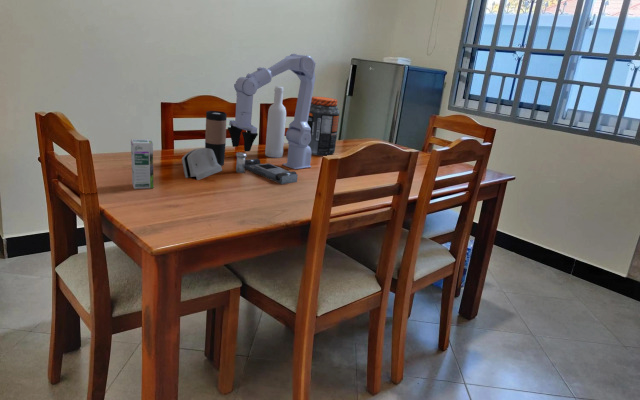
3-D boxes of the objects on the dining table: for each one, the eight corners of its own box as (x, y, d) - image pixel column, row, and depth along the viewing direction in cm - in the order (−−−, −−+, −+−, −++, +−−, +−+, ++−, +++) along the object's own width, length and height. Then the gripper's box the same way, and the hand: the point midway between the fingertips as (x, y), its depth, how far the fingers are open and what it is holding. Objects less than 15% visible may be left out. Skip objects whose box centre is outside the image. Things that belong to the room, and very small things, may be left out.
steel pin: (241, 169, 167) (242, 152, 164) (247, 172, 164) (248, 154, 162) (232, 171, 164) (233, 152, 162) (238, 173, 161) (239, 155, 159)
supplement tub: (305, 147, 219) (310, 94, 211) (336, 151, 218) (342, 99, 209) (299, 153, 204) (305, 97, 196) (332, 158, 203) (339, 101, 194)
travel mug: (200, 163, 168) (201, 111, 162) (212, 160, 175) (214, 110, 169) (217, 167, 166) (219, 114, 159) (228, 164, 172) (230, 113, 166)
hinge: (197, 180, 148) (189, 151, 146) (186, 182, 150) (178, 154, 148) (222, 170, 163) (215, 144, 161) (212, 172, 165) (205, 146, 163)
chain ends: (255, 164, 177) (255, 156, 176) (297, 181, 160) (298, 172, 159) (238, 166, 171) (238, 157, 170) (280, 184, 154) (281, 175, 153)
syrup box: (133, 189, 133) (132, 142, 128) (131, 183, 137) (130, 138, 133) (153, 188, 135) (153, 142, 131) (151, 183, 140) (150, 138, 135)
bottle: (286, 156, 196) (292, 88, 186) (275, 158, 189) (281, 88, 180) (272, 152, 199) (277, 85, 190) (261, 154, 193) (266, 85, 183)
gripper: (223, 108, 159) (221, 144, 163) (246, 115, 149) (243, 154, 153) (239, 108, 164) (236, 144, 168) (262, 115, 154) (259, 152, 158)
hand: (241, 148), depth 161 cm, fingers open, 7 cm apart
